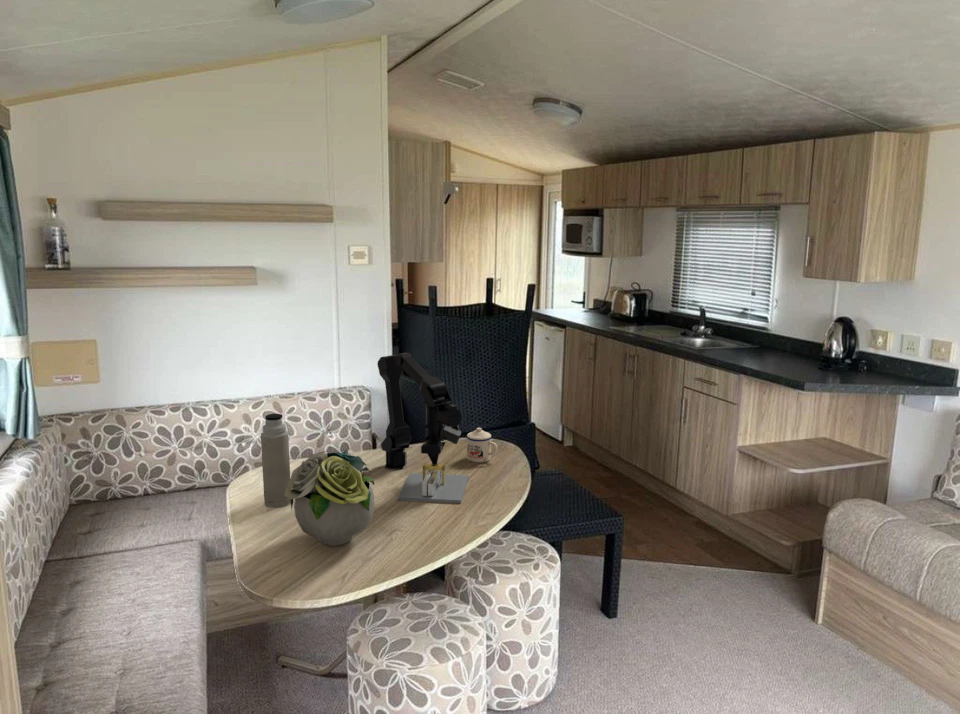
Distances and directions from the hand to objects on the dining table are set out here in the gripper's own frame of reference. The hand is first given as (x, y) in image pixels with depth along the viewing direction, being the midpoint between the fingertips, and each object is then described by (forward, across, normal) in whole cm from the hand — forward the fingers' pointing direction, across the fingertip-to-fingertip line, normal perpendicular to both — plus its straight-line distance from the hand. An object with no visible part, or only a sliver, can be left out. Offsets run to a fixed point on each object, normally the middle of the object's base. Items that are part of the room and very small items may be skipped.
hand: (435, 465), depth 226 cm
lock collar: (+5, -2, 0) cm, 5 cm away
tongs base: (+6, -4, 0) cm, 8 cm away
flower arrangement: (+6, -43, +21) cm, 48 cm away
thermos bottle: (+6, -20, +46) cm, 51 cm away
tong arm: (+5, -5, -1) cm, 7 cm away
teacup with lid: (+7, +25, -14) cm, 29 cm away
